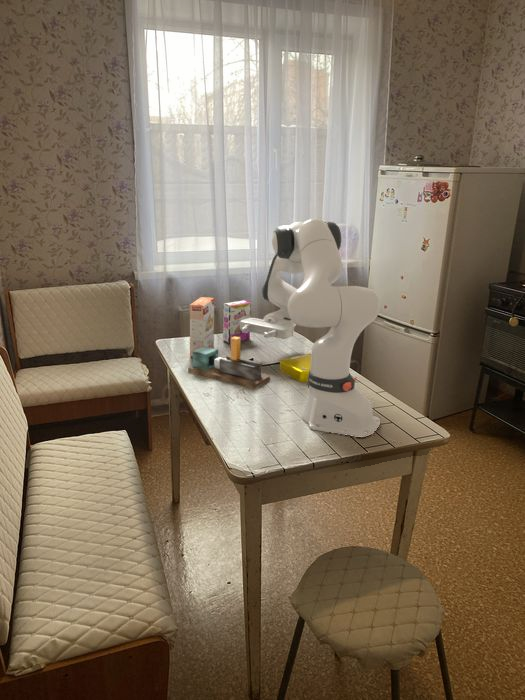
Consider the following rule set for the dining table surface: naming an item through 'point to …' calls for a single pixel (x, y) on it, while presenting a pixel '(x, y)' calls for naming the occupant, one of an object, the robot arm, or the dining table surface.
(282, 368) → the element tile
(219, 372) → the slide bolt latch board
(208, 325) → the cracker box
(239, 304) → the candy bar box
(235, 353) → the post on white base
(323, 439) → the dining table surface
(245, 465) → the dining table surface
